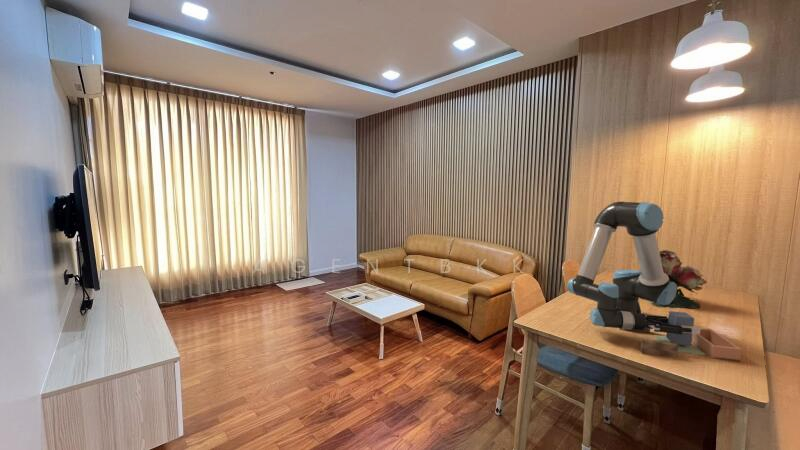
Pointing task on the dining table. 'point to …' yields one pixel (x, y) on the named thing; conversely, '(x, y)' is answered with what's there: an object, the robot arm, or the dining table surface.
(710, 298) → the dining table surface
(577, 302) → the dining table surface
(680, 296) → the rose bouquet
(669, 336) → the tall block
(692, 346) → the pad
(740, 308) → the dining table surface
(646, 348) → the walled lane
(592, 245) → the robot arm
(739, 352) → the tan open box
